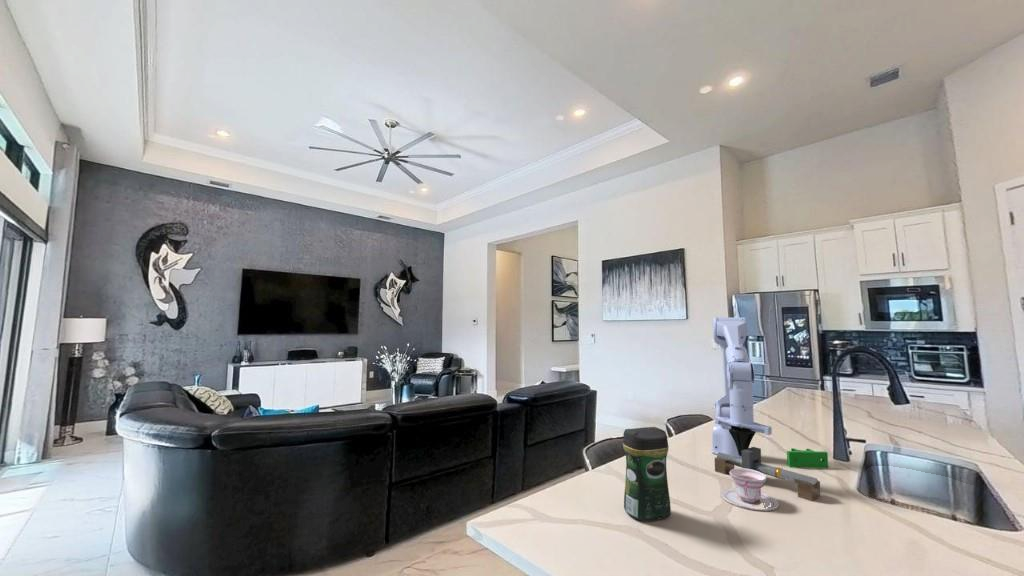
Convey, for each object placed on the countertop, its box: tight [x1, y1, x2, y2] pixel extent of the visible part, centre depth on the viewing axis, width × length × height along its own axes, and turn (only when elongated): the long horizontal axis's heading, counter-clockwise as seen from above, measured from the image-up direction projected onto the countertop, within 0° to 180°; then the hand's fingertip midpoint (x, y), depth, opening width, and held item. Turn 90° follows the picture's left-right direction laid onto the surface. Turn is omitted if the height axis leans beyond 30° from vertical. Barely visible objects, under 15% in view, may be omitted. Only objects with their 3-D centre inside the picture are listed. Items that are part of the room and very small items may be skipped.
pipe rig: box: [714, 452, 822, 502], centre depth 112 cm, size 24×5×5 cm, turn 35°
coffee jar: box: [622, 426, 672, 522], centre depth 94 cm, size 10×8×19 cm
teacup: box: [721, 467, 780, 512], centre depth 101 cm, size 12×12×6 cm
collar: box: [741, 446, 762, 470], centre depth 114 cm, size 2×6×7 cm, turn 125°
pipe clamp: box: [786, 447, 829, 469], centre depth 126 cm, size 11×4×5 cm, turn 89°
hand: (742, 455), depth 116 cm, fingers closed
